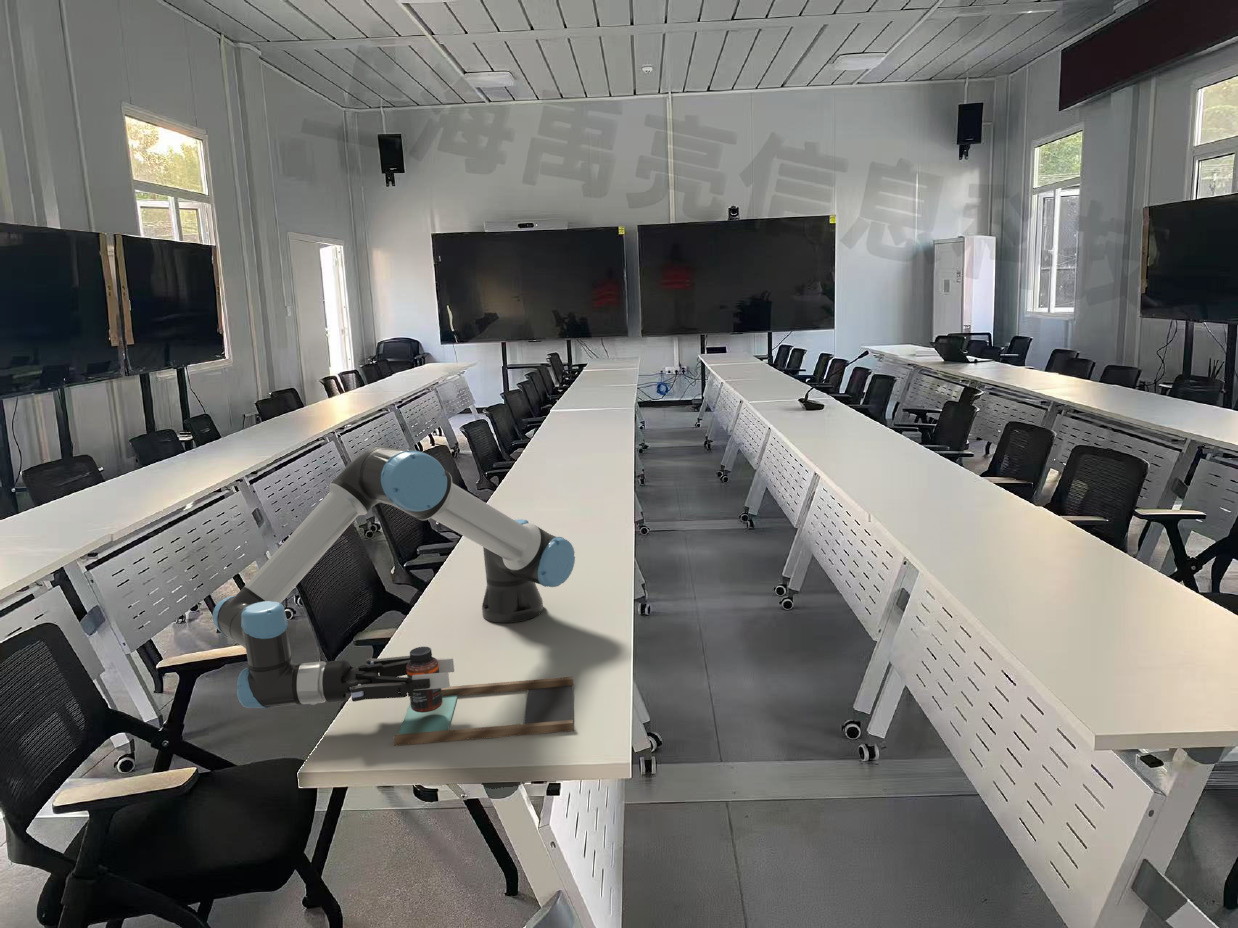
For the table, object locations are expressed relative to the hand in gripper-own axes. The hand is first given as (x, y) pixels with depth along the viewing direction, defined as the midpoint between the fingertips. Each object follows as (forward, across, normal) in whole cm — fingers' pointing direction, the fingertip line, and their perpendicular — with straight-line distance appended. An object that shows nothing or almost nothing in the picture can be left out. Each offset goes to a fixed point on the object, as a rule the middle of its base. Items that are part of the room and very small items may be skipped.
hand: (450, 672), depth 162 cm
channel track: (+6, 0, -9) cm, 11 cm away
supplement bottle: (-5, 0, -7) cm, 8 cm away
